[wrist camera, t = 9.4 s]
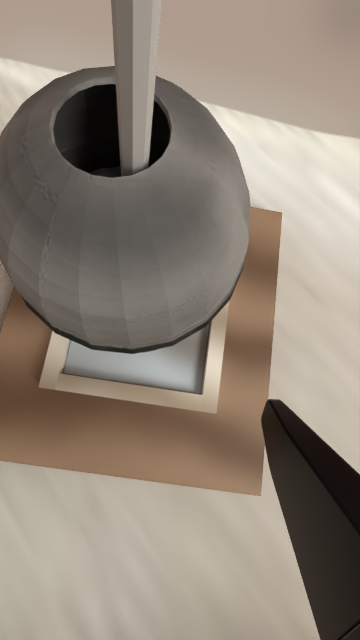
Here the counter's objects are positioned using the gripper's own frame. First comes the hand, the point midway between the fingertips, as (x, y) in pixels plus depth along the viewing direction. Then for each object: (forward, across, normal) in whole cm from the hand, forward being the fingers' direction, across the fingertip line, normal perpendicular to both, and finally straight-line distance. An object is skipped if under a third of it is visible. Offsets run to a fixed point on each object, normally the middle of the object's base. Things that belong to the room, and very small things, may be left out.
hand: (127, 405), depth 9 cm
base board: (+12, 0, +4) cm, 13 cm away
